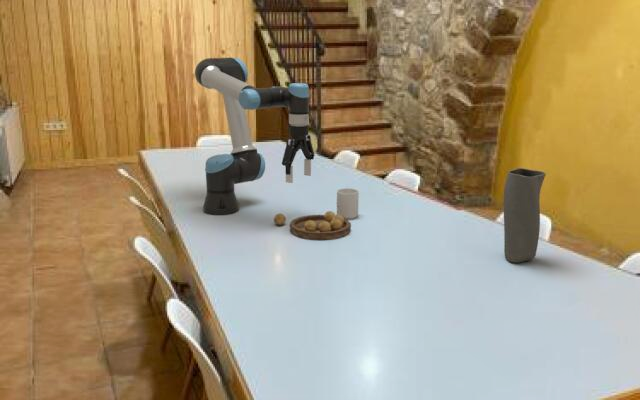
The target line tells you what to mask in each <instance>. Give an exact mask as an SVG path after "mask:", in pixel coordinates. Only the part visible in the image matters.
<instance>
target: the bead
mask: <svg viewBox="0 0 640 400" xmlns="http://www.w3.org/2000/svg"><path fill="white" fill-rule="evenodd" d="M273 221H274V223H275V224H276V225H277V226H282V225H284V224H285V223H286V216H285V214H283V213H277V214H275V215H274V217H273Z"/></svg>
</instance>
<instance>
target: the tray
mask: <svg viewBox="0 0 640 400" xmlns="http://www.w3.org/2000/svg"><path fill="white" fill-rule="evenodd" d="M324 215H325V214H309V215H308V214H307V215H304V216H298V217H296V218H293V219H292V220H291V221H290V223H289V228H290V233H291V234H292V235H293V236H295V237H297V238H299V239H300V238H301V239H304V240H310V241H330V240H332V241H333V240H337V239H340V238H344V237H347V236H348V235H349V234H351V226H352V223H351V221H349V220H346V219H344V223H343V224H342V227H341V229H340V230H336V231H334V230H332V229H330V231H329V232H320V231H319V228H318V226H319V224H320V223H321V222H322V221H325V220H324ZM309 220H312V221H314V222H315V223H316V225H317V228H316V230H315V231H314V232H311V231H306V230H305V228H304V225H305V223H306V222H307V221H309ZM327 222H328V221H327ZM329 223H330V222H329Z"/></svg>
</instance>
